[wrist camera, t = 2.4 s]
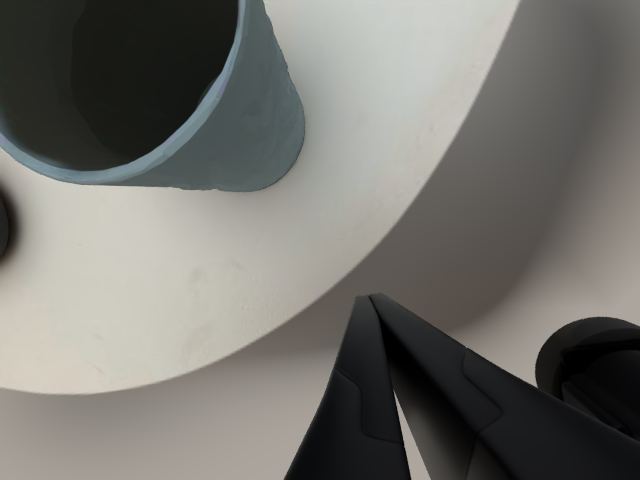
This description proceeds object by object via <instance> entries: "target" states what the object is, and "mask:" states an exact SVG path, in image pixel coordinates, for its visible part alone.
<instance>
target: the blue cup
mask: <svg viewBox="0 0 640 480" xmlns="http://www.w3.org/2000/svg"><path fill="white" fill-rule="evenodd" d="M287 68H288V66H287V63H286V61H285V59H284V56H283V53H282V50H281V49H280V47H279V45H278V42H277V40H276V38H275V35H274V33H273V26H272V24H271V21H270V18H269V17H268V15H267V14H266V11H265V5H264V2H263V0H0V147H1V148H2V149H4V150H5V151H6V152H7V153H8V154H9V155H10V156H11V157H13V158H14V159H15V160H16V161H17V162H19V163H21V164H22V165H24V166H26V167H28V168H29V169H31V170H33V171H35V172H37V173H39V174H41V175H44V176H47V177H50V178H53V179H55V180H58V181H62V182H68V183H74V184H80V185H109V186H145V187H174V188H181V189H183V190H211V189H214V188H215V189H218V190H220V191H231V192H249V191H256V190H260V189H263V188H265V187H268V186H270V185H271V184H273V183H275V182H276V181H278V180H279V179H280V178H282V177H283V176H284V175H285V174H286V173H287V171H288V170H289V169H290V168H291V167H292V165H293V164H294V162H295V161H296V159H297V157H298V155H299V152H300V150H301V147H302V143H303V139H304V133H305V119H304V111H303V108H302V104H301V101H300V99H299V96H298V94H297V91H296V89H295V86H294V84H293V82H292V81H291V79H290V76H289V73H288V71H287Z"/></svg>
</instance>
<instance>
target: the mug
mask: <svg viewBox="0 0 640 480" xmlns="http://www.w3.org/2000/svg"><path fill="white" fill-rule="evenodd" d="M8 233H9V225H8V217H7V213H6V210H5V207H4V204H3V202H2V200H1V198H0V257H1V256H2V254H3V252H4V250H5V248H6V245H7V241H8Z"/></svg>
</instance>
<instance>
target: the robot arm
mask: <svg viewBox="0 0 640 480" xmlns="http://www.w3.org/2000/svg"><path fill="white" fill-rule="evenodd" d="M570 354H573V355H572V357H571V358H569V359H568V356H569V355H570ZM559 357H560V363H561V368H562V374H563V379H564V382H563V384H562V392H563V398H564V402H563V401H561V400H559V399H557V398H555V397H553V396H552V395H550V394H548V393H546V392H544V391H542V390H540V389H538V388H537V387H535V386H533V385H531V384H529V383H527V382H525V381H523V380H522V379H520V378H518V377H516V376H514V375H513V374H511V373H509V372H507V371H505V370H504V369H501V368H500V367H498V366H497V365H495V364H493V363H492V362H490V361H488V360H486V359H485V358H483V357H482V356H480V355H479V354H477V353H475V352H474V351H472V350H471V349H469V348H466V347H465V346H464V345H462V344H460V343H459V342H457V341H456V340H454V339H453V338H451V337H450V336H448V335H447V334H445V333H443V332H442V331H440V330H439V329H437V328H436V327H434V326H432V325H431V324H429V323H428V322H426V321H424V320H423V319H422V318H420V317H418V316H417V315H415V314H414V313H412V312H411V311H409V310H408V309H406V308H404V307H403V306H401V305H400V304H398V303H397V302H395V301H393V300H392V299H390V298H389V297H387V296H386V295H384V294H382V293H374V294H370V295H369V296H368V295H362V296H357V297H356V298H355V300H354V303H353V307H352V310H351V313H350V316H349V319H348V323H347V326H346V329H345V332H344V335H343V339H342V342H341V345H340V348H339V352H338V355H337V358H336V361H335V364H334V368H333V370H332V373H331V376H330V379H329V382H328V385H327V388H326V391H325V393H324V396H323V398H322V400H321V403H320V405H319V407H318V409H317V412H316V414H315V416H314V418H313V420H312V422H311V424H310V427H309V429H308V431H307V433H306V435H305V437H304V439H303V441H302V443H301V445H300V447H299V449H298V452H297V453H296V455H295V457H294V459H293V461H292V463H291V466H290V468H289V470H288V472H287V474H286V476H285V478H284V480H411V476H410V470H409V465H408V461H407V455H406V450H405V447H404V441H403V436H402V431H401V426H400V421H399V416H398V411H397V406H396V400H395V395H394V391H395V394H396V396H397V399H398V401H399V404H400V406H401V408H402V411H403V413H404V415H405V418H406V420H407V423H408V425H409V428H410V430H411V432H412V435H413V437H414V439H415V442H416V445H417V447H418V449H419V452H420V454H421V457H422V459H423V461H424V464H425V466H426V468H427V471H428V474H429V476H430V478H431V480H640V338H637V339H629V340H622V341H614V342H606V343H598V344H590V345H582V346H574V347H566V348H563V349H562V350H561V351H560V353H559ZM393 389H394V390H393Z"/></svg>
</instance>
